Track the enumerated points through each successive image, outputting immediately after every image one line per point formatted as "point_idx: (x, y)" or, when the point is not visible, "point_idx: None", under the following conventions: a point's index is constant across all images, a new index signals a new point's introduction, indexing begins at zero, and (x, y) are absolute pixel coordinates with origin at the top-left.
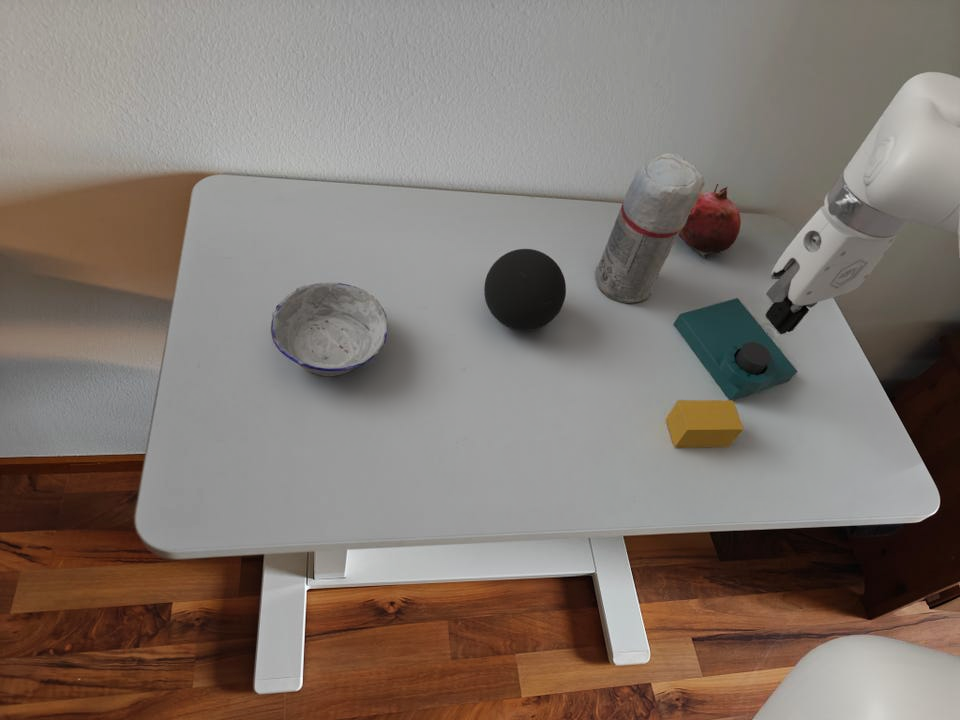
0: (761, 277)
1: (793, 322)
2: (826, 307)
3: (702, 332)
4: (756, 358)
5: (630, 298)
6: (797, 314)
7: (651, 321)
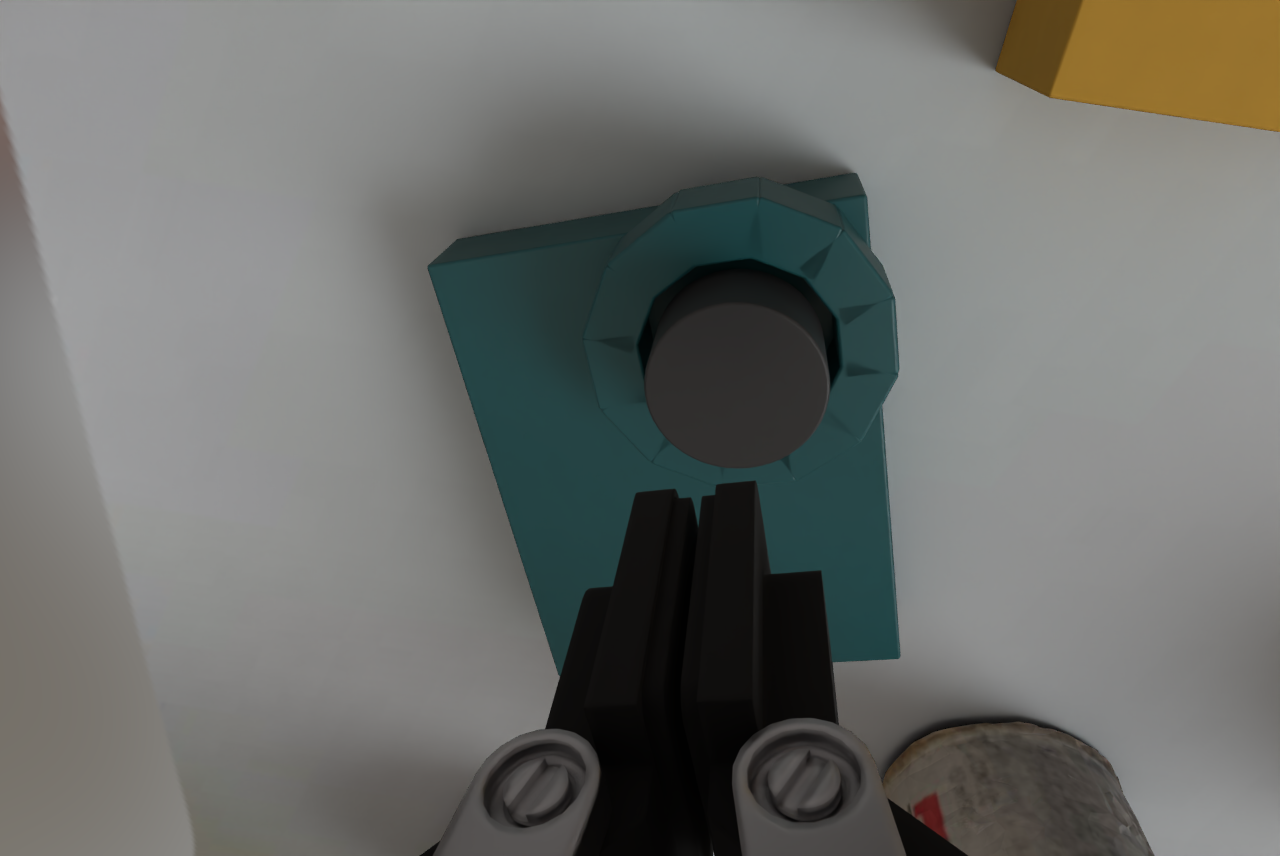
0: (371, 716)
1: (718, 579)
2: (131, 558)
3: (845, 557)
4: (763, 355)
5: (1045, 749)
6: (752, 681)
7: (983, 636)
